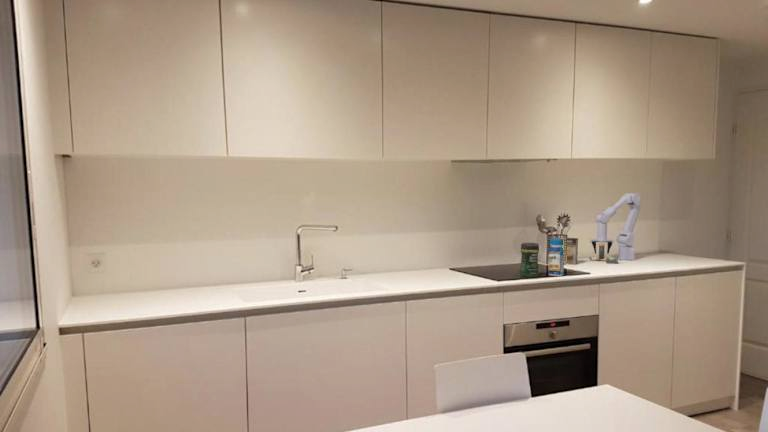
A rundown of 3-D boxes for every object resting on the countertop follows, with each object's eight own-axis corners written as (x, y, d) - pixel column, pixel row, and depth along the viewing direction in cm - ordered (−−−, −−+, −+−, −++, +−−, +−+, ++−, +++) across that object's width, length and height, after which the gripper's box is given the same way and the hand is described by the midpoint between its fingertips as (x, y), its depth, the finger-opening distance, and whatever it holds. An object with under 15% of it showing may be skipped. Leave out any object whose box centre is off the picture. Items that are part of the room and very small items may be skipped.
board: (608, 259, 346) (608, 257, 346) (610, 261, 337) (610, 259, 337) (589, 258, 350) (589, 257, 350) (590, 260, 340) (590, 259, 340)
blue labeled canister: (566, 275, 287) (567, 239, 285) (552, 276, 285) (553, 240, 284) (558, 273, 295) (559, 238, 294) (545, 273, 293) (545, 238, 292)
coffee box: (560, 263, 330) (560, 238, 329) (562, 262, 335) (563, 237, 334) (575, 264, 325) (576, 239, 324) (577, 263, 330) (578, 238, 329)
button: (614, 261, 332) (614, 257, 332) (615, 261, 329) (615, 258, 329) (608, 260, 333) (608, 257, 333) (609, 261, 330) (609, 257, 330)
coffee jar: (525, 278, 281) (525, 243, 280) (517, 275, 289) (518, 242, 288) (541, 277, 284) (541, 243, 283) (533, 274, 291) (533, 241, 290)
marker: (604, 258, 344) (604, 243, 344) (604, 258, 341) (604, 244, 340) (598, 258, 345) (598, 243, 345) (599, 258, 342) (599, 244, 341)
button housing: (616, 262, 333) (616, 258, 333) (617, 263, 327) (617, 260, 327) (606, 261, 335) (606, 258, 335) (607, 263, 329) (607, 259, 329)
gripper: (590, 233, 340) (590, 253, 341) (614, 233, 336) (614, 254, 337) (589, 232, 347) (589, 252, 348) (613, 232, 343) (612, 253, 344)
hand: (601, 253), depth 343 cm, fingers open, 7 cm apart
